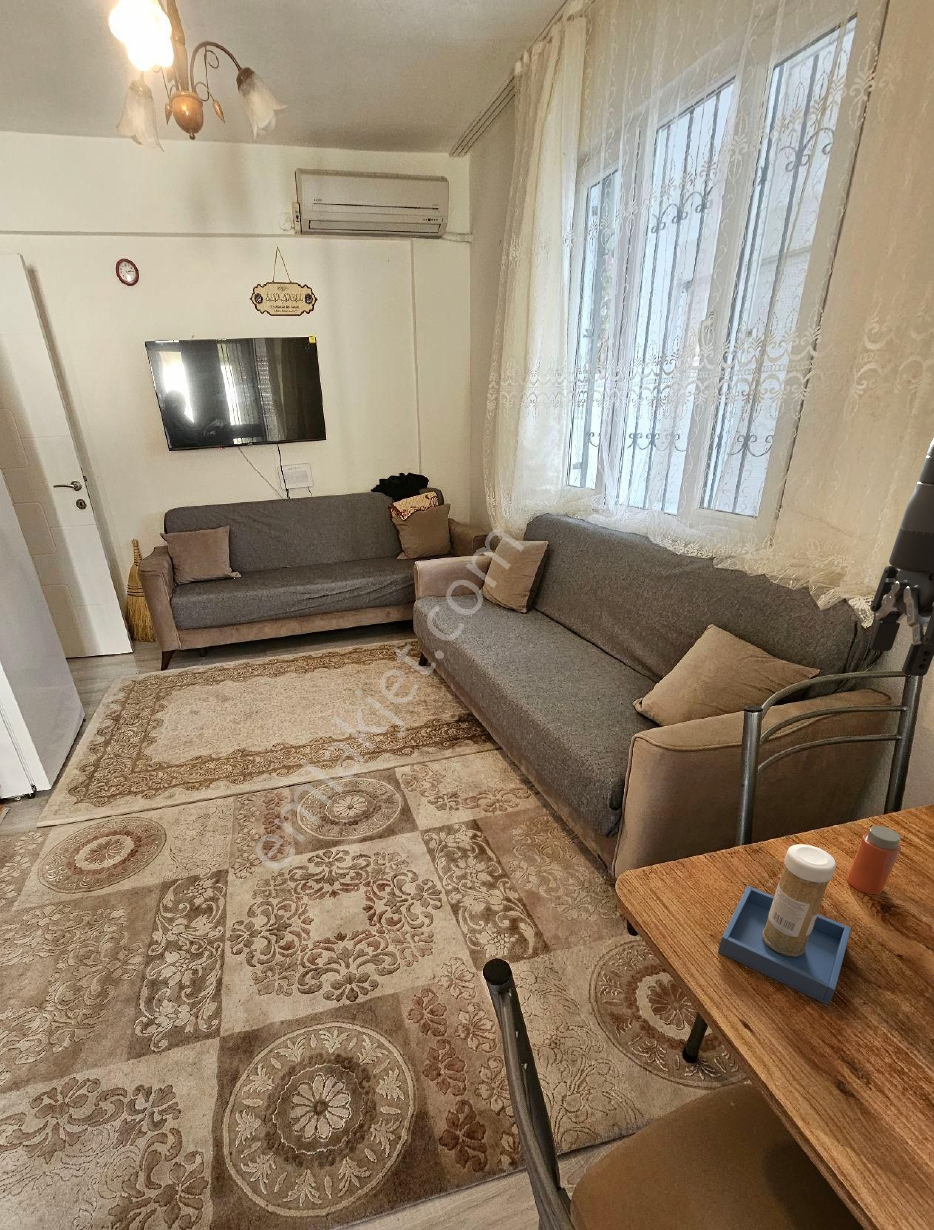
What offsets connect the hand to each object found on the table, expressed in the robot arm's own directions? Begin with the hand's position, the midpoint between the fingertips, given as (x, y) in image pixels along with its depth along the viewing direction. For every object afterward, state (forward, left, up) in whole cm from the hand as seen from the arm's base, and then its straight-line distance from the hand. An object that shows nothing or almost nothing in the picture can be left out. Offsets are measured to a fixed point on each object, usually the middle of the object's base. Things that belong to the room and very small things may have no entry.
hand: (895, 661), depth 71 cm
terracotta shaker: (-5, +4, -30) cm, 31 cm away
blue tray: (+1, +23, -30) cm, 38 cm away
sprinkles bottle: (+1, +23, -30) cm, 38 cm away
